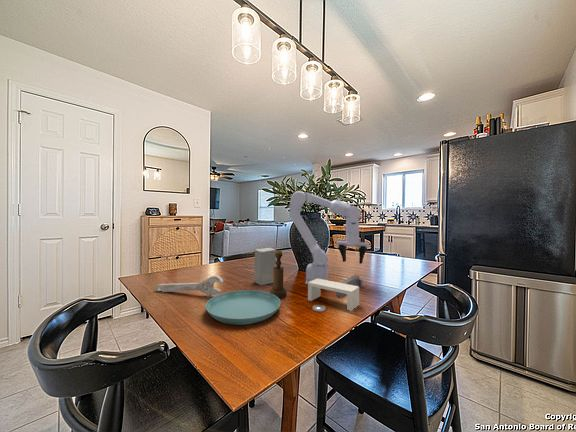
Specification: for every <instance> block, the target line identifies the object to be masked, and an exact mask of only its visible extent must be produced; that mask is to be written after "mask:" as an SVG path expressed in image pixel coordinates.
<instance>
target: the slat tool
mask: <svg viewBox="0 0 576 432" xmlns="http://www.w3.org/2000/svg"><path fill="white" fill-rule="evenodd" d="M340 283H344V284H349V285H354V286H360V287H363V279H362V278H360V275H356V274H354V275H353V276H351V277H349V278H347V279H345V280H344V281H341V282H340ZM360 287H359V288H360ZM336 296H337V298H340V297H341V298H342V297H344V296H346V294H344V293H340V292H335V297H336Z"/></svg>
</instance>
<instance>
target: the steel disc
mask: <svg viewBox="0 0 576 432" xmlns="http://www.w3.org/2000/svg"><path fill="white" fill-rule="evenodd" d="M325 310H327V308H326V305H325V306H324V305H322V304H314V305H312V311H314V312H316V313H324V312H326V311H325Z"/></svg>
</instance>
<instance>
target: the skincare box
mask: <svg viewBox="0 0 576 432" xmlns="http://www.w3.org/2000/svg"><path fill="white" fill-rule="evenodd" d="M276 251H277V250H276V249H275V248H271V247H266V248H265V247H264V248H263V247H262V248H254V283H256V284H257V285H259V286H264V285H269V284H273V268H274V267H276V261H277V258H276V256H275V252H276Z"/></svg>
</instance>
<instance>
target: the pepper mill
mask: <svg viewBox="0 0 576 432" xmlns="http://www.w3.org/2000/svg"><path fill="white" fill-rule="evenodd" d="M275 256H276V267H274V268H273V283H272V287H271V289H269V293H270V294H273V295H275V296H276V297H278V298H279V300H281V299H285V298H286V297H287V294H288V292H287V289H286V288H285V287H284V267H283V266H282V261H281V259H282V257H283V251H282V250H281V249H278V250H276V252H275Z"/></svg>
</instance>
